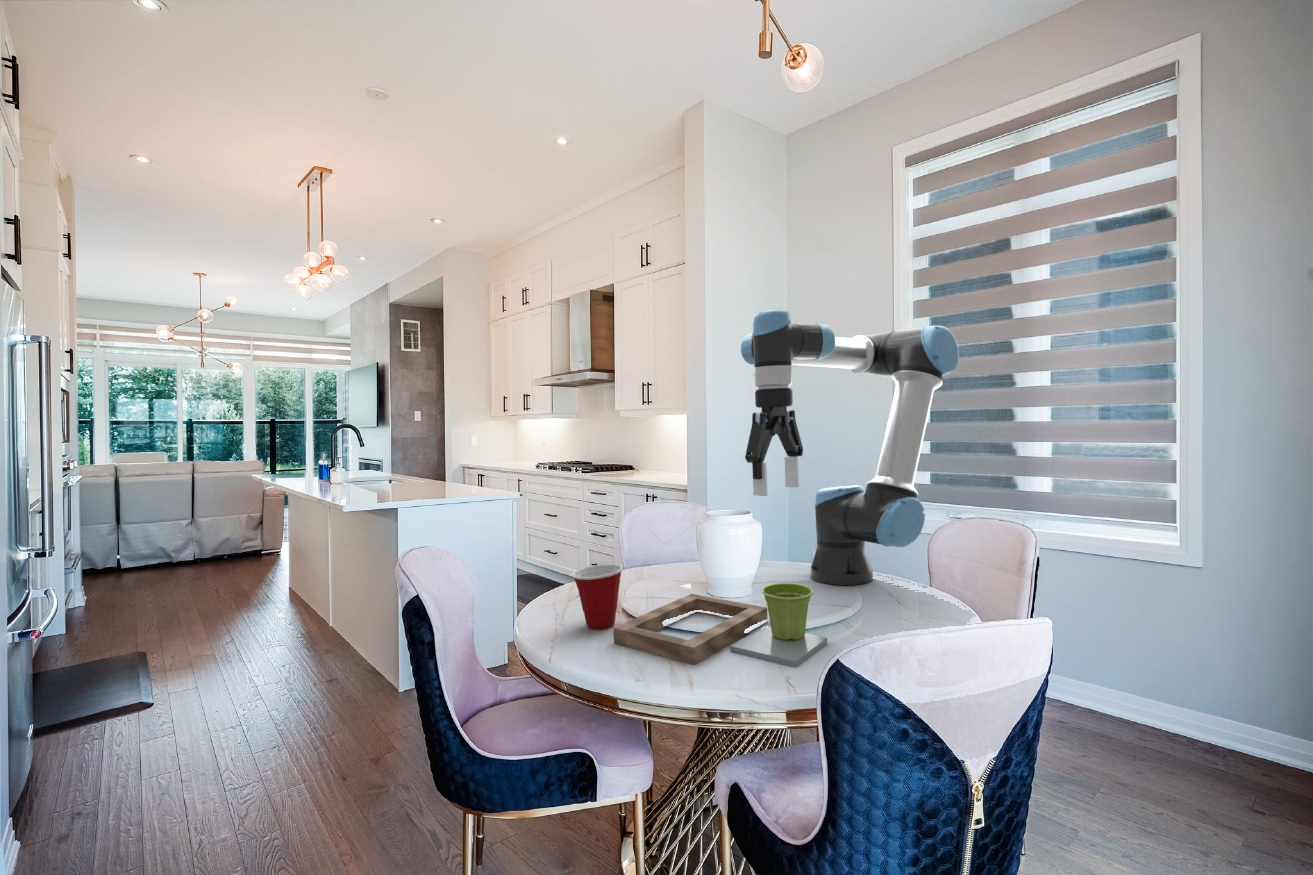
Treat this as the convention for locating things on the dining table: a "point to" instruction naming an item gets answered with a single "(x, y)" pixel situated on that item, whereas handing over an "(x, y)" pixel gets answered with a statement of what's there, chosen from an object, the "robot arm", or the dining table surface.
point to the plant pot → (787, 609)
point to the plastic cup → (599, 593)
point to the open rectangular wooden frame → (696, 649)
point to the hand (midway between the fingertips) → (776, 491)
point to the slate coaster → (778, 647)
